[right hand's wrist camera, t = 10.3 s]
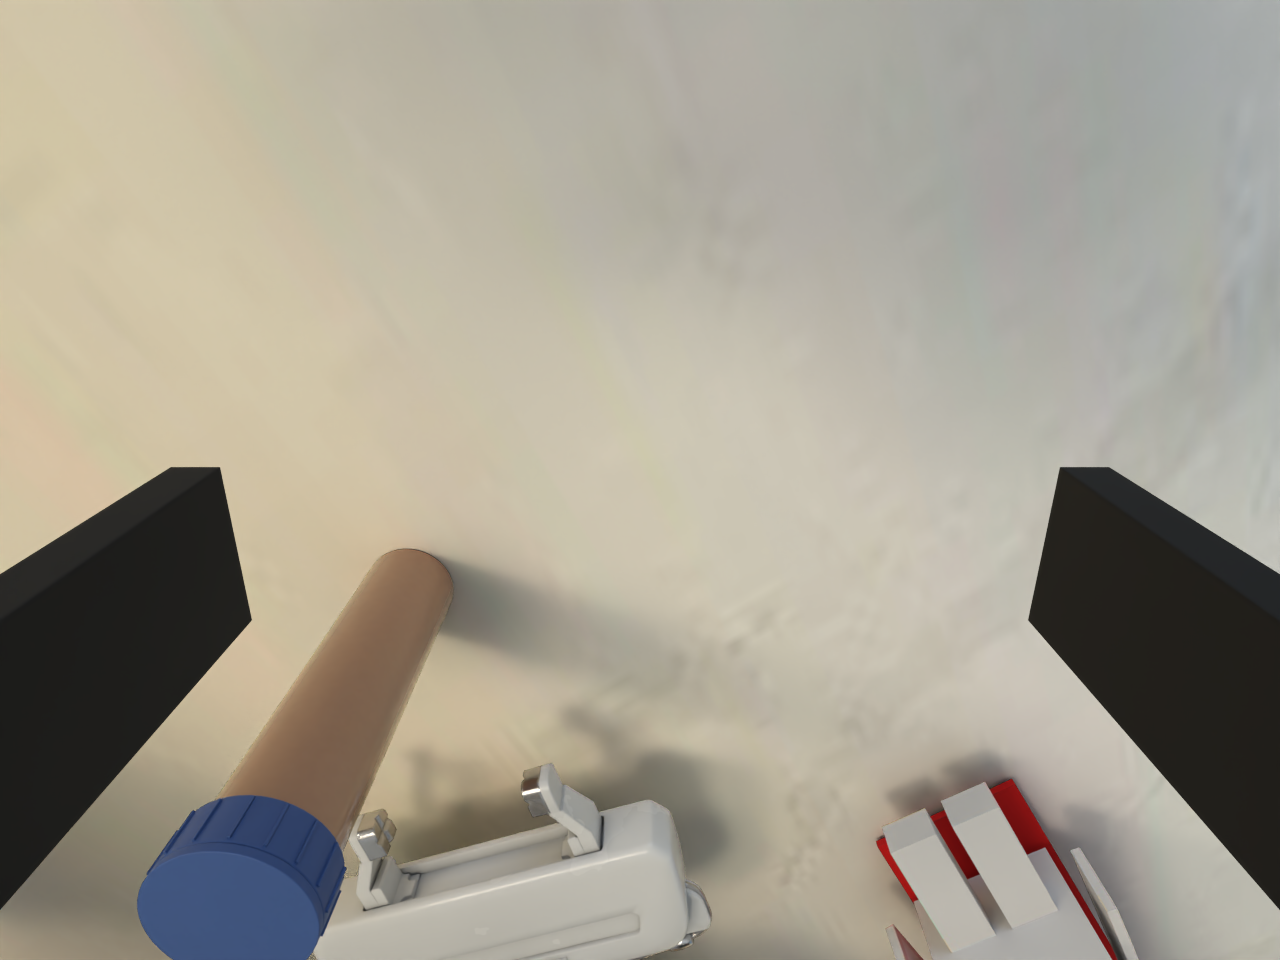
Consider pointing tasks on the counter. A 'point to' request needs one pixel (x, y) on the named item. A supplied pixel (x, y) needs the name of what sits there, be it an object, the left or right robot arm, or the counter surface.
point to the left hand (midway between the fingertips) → (448, 798)
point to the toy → (997, 885)
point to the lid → (243, 883)
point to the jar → (350, 695)
